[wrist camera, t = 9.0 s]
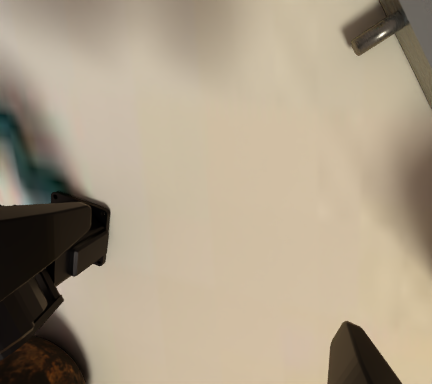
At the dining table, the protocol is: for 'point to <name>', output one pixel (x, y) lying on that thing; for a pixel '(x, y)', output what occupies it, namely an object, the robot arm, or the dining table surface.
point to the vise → (405, 36)
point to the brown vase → (39, 365)
